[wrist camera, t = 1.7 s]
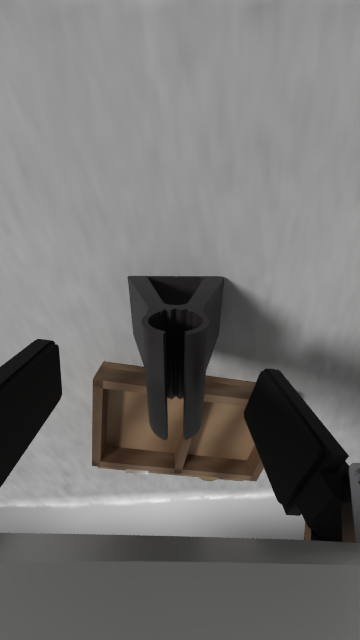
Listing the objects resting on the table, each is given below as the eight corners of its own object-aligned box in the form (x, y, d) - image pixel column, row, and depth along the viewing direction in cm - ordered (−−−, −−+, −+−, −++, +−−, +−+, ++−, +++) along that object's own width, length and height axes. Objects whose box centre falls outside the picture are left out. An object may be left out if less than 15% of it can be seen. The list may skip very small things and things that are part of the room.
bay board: (284, 386, 24) (298, 406, 21) (240, 473, 31) (247, 497, 28) (103, 361, 22) (92, 379, 19) (100, 460, 29) (92, 484, 26)
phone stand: (223, 276, 18) (294, 334, 7) (217, 332, 21) (264, 440, 10) (128, 275, 18) (54, 333, 7) (133, 332, 20) (83, 441, 9)
